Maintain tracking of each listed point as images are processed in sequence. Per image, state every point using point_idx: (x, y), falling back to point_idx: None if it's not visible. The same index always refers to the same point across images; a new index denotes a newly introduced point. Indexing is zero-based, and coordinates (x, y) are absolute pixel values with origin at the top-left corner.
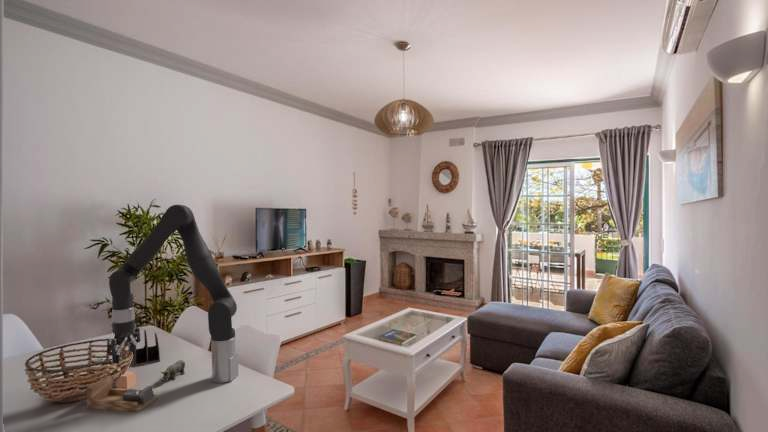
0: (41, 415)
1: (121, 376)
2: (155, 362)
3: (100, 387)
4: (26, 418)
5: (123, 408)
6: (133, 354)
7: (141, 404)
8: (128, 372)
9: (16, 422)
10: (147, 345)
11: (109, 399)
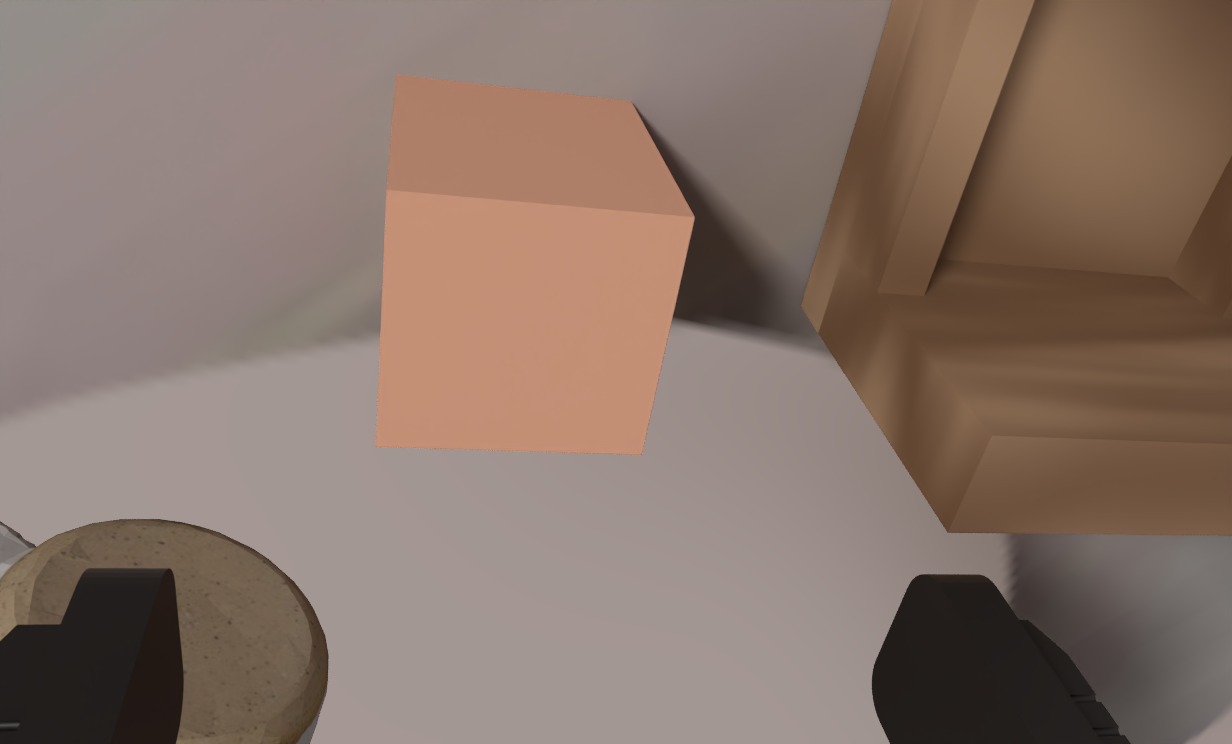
0: (1128, 649)
1: (661, 338)
2: None
3: (1197, 384)
4: (1140, 713)
5: None
6: (169, 611)
7: None
8: (474, 308)
9: (1186, 728)
10: None
11: (1099, 134)
